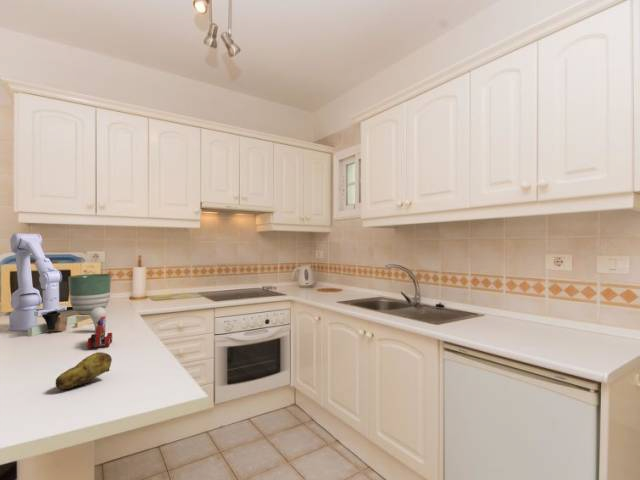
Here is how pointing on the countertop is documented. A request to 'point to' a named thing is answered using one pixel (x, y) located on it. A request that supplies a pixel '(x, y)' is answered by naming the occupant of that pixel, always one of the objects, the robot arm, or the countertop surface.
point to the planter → (89, 292)
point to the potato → (84, 371)
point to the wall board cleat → (77, 319)
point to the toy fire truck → (100, 335)
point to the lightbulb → (97, 315)
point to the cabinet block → (60, 324)
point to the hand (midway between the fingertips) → (51, 329)
